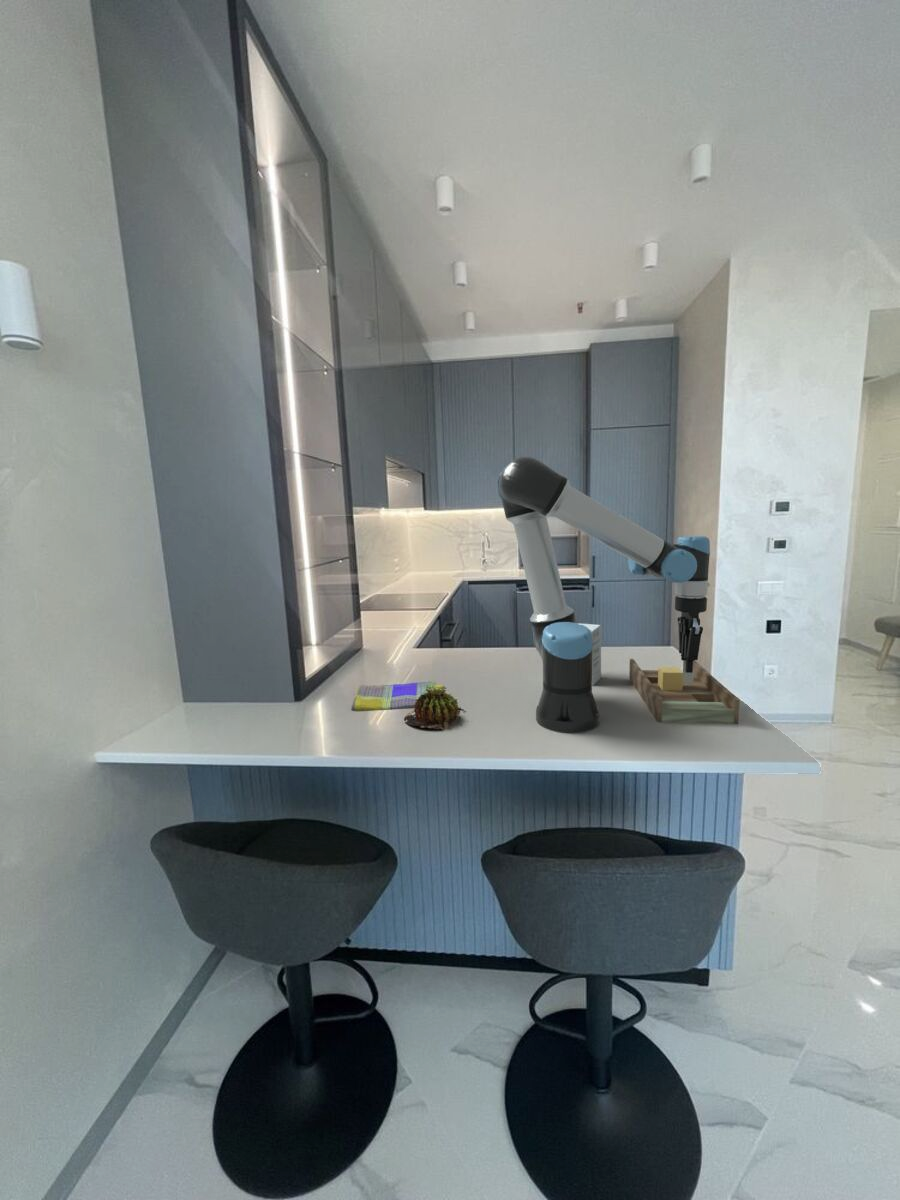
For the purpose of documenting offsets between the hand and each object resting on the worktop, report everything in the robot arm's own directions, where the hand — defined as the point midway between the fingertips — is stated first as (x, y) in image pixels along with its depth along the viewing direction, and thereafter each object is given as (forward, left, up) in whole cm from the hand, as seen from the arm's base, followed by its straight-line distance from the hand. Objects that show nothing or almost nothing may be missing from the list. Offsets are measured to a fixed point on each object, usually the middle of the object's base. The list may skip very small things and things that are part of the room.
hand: (686, 682), depth 134 cm
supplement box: (-12, +27, -5) cm, 30 cm away
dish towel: (-67, +43, -5) cm, 80 cm away
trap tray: (-2, +1, -5) cm, 5 cm away
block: (-3, +3, -2) cm, 4 cm away
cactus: (-63, +23, -5) cm, 67 cm away
